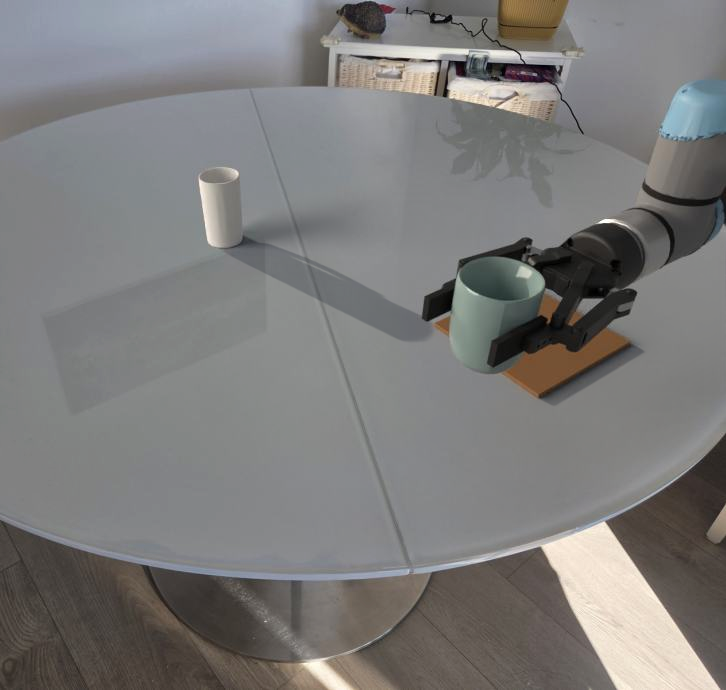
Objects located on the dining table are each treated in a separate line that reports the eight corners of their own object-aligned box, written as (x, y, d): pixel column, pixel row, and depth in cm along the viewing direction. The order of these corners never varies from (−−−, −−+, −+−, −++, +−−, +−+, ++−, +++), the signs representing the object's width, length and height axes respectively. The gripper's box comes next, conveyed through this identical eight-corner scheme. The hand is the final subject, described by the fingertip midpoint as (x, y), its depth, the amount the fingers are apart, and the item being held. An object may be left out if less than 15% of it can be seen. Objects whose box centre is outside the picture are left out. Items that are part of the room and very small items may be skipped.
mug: (244, 248, 110) (239, 182, 102) (205, 250, 110) (197, 185, 102) (244, 220, 117) (239, 158, 110) (208, 222, 117) (200, 160, 110)
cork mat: (629, 344, 85) (631, 341, 84) (537, 398, 78) (539, 394, 77) (521, 284, 97) (522, 281, 97) (433, 326, 90) (434, 322, 90)
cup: (539, 364, 64) (564, 281, 58) (487, 396, 61) (507, 312, 55) (479, 327, 70) (495, 247, 63) (428, 355, 66) (440, 274, 60)
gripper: (692, 330, 64) (538, 424, 55) (526, 246, 78) (382, 310, 69) (722, 266, 59) (559, 357, 50) (540, 189, 73) (387, 250, 64)
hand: (457, 330), depth 60 cm, fingers closed on cup, 8 cm apart
